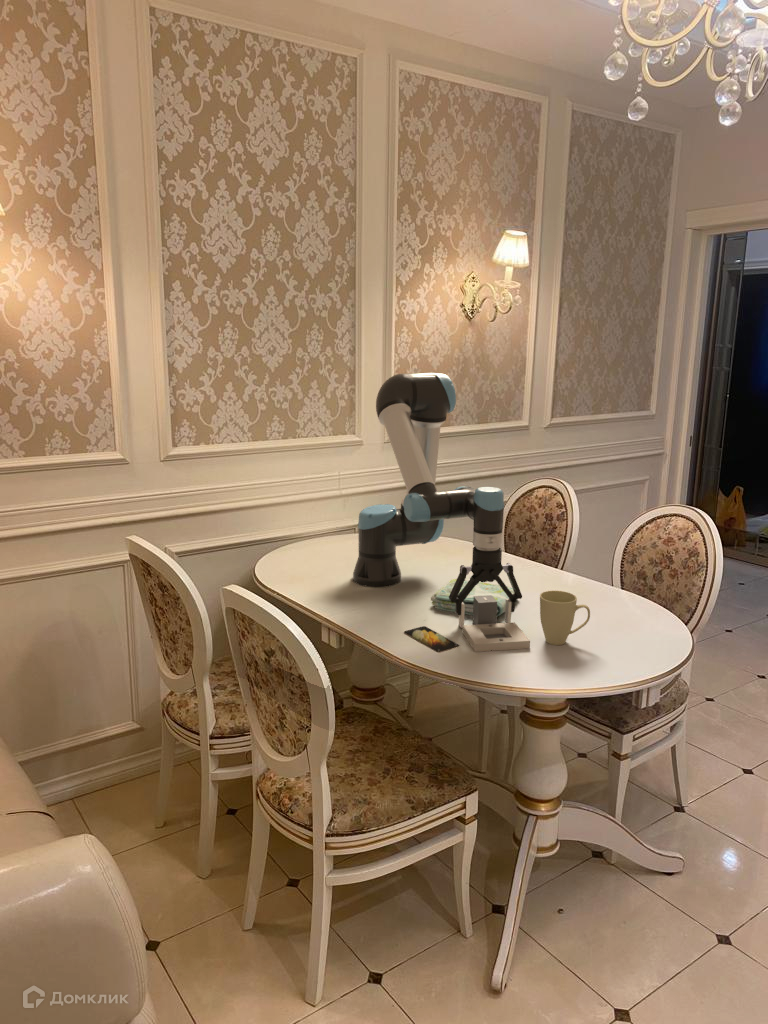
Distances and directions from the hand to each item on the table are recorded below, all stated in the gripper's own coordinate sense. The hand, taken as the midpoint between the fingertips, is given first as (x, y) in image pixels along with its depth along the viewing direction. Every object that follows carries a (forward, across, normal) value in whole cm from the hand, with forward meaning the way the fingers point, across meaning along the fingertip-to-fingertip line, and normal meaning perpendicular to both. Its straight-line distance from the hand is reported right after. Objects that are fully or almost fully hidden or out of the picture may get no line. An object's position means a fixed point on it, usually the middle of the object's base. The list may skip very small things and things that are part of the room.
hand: (484, 624), depth 199 cm
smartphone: (+1, -16, -7) cm, 17 cm away
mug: (0, +16, -13) cm, 21 cm away
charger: (0, 0, 0) cm, 0 cm away
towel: (+1, +2, +16) cm, 16 cm away
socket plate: (0, 0, -10) cm, 10 cm away
